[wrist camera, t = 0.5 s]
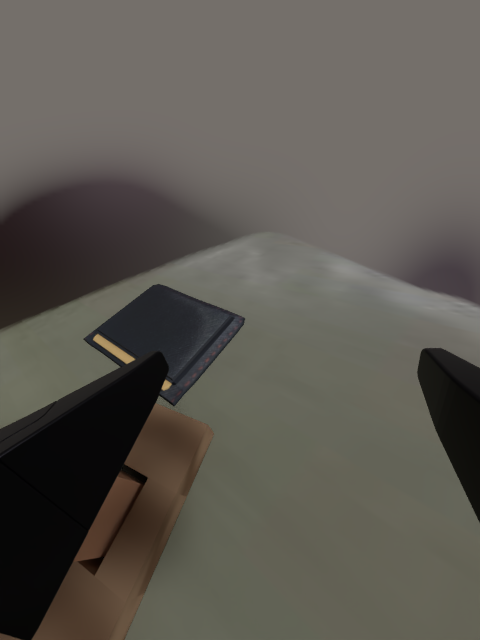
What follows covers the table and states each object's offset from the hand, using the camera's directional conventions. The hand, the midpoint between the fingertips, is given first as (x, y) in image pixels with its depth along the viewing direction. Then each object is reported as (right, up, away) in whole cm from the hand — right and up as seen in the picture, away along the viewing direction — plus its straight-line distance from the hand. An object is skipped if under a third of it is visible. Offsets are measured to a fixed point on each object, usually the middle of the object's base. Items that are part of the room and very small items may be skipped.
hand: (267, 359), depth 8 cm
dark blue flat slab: (-12, -1, +25) cm, 28 cm away
